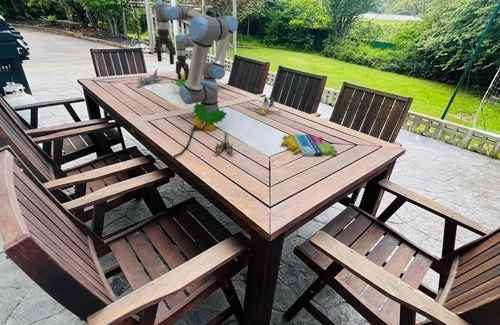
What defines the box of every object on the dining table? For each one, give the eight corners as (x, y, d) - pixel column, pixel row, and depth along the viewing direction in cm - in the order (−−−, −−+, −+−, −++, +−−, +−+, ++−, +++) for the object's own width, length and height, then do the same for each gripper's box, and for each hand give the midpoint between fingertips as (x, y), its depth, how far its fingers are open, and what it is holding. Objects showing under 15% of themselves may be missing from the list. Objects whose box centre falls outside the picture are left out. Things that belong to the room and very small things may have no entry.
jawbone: (234, 135, 144) (233, 125, 135) (233, 160, 138) (232, 151, 129) (217, 135, 144) (216, 125, 135) (216, 160, 138) (214, 150, 129)
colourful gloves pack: (340, 153, 140) (285, 152, 138) (339, 156, 141) (285, 155, 138) (325, 134, 163) (277, 133, 160) (324, 137, 163) (277, 136, 161)
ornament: (218, 133, 171) (224, 110, 169) (221, 134, 163) (227, 111, 161) (186, 125, 162) (192, 101, 160) (189, 126, 155) (195, 101, 153)
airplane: (130, 79, 264) (128, 69, 259) (162, 77, 277) (161, 68, 272) (135, 89, 236) (133, 78, 230) (170, 87, 249) (169, 76, 244)
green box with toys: (185, 84, 234) (184, 71, 229) (192, 86, 230) (191, 72, 224) (175, 86, 227) (173, 72, 221) (181, 88, 222) (180, 74, 216)
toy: (286, 98, 212) (281, 108, 186) (285, 107, 216) (280, 118, 190) (253, 94, 217) (244, 103, 191) (252, 103, 221) (243, 112, 195)
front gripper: (146, 27, 177) (150, 60, 188) (170, 30, 165) (172, 65, 175) (156, 27, 183) (159, 59, 193) (179, 30, 170) (181, 64, 180)
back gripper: (169, 54, 219) (172, 81, 230) (186, 57, 207) (188, 86, 219) (176, 53, 224) (179, 80, 235) (193, 56, 213) (195, 84, 224)
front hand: (165, 62), depth 184 cm, fingers open, 13 cm apart
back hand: (183, 83), depth 227 cm, fingers closed on green box with toys, 9 cm apart
